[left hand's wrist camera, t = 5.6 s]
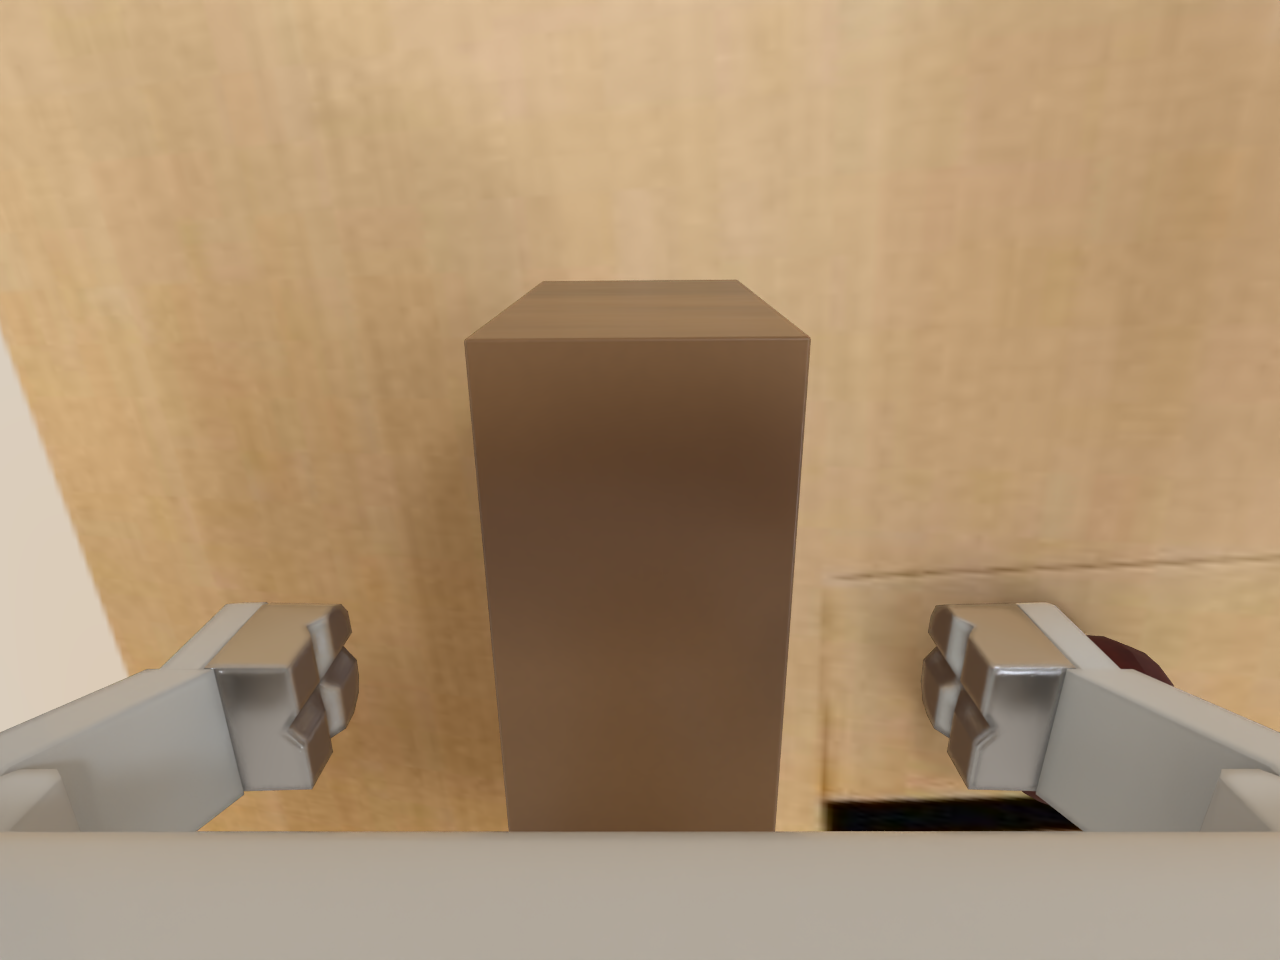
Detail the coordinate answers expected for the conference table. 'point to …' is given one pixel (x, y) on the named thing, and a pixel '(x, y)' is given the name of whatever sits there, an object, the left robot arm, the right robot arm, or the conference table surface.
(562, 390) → the box
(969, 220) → the conference table surface
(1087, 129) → the conference table surface
